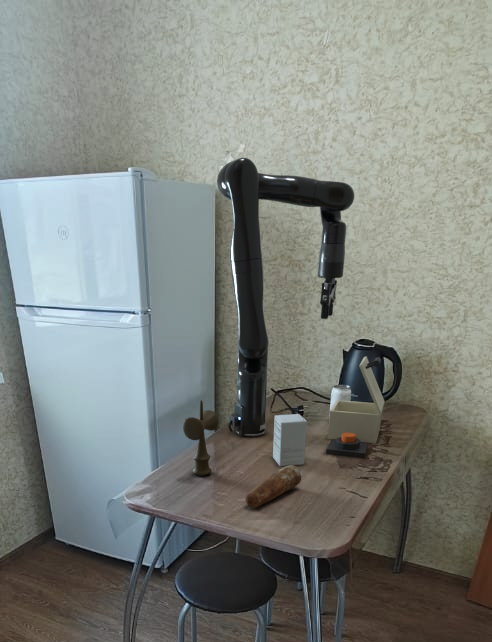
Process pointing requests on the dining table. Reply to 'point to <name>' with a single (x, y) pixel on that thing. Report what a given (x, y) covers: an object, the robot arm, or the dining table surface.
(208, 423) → the kendama
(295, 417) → the white packaging box
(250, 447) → the dining table surface
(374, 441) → the hinged lid box
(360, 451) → the button block
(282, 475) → the bread
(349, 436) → the release button
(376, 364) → the box lid
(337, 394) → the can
